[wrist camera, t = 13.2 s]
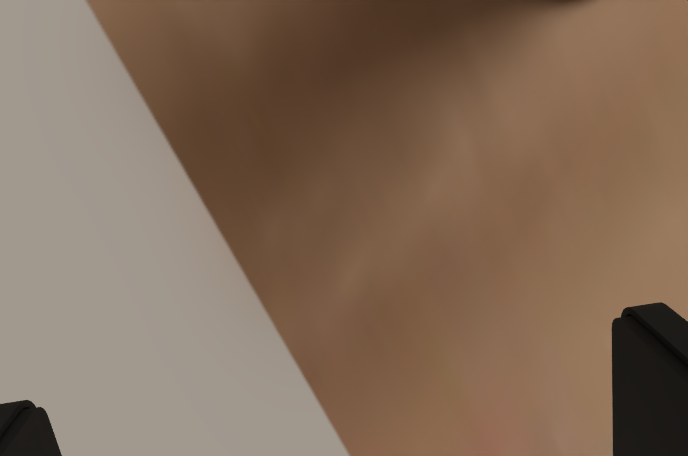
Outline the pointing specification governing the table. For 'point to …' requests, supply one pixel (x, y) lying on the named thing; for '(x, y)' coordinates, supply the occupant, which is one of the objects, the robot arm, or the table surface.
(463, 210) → the table surface
